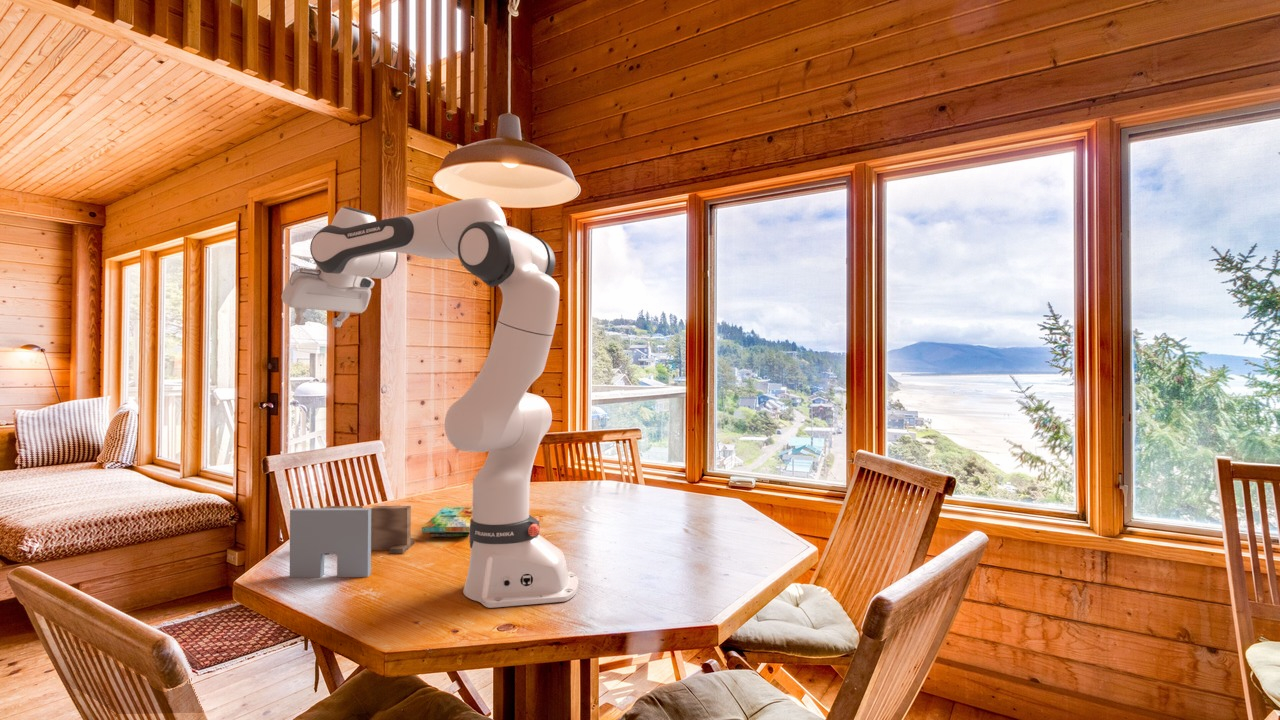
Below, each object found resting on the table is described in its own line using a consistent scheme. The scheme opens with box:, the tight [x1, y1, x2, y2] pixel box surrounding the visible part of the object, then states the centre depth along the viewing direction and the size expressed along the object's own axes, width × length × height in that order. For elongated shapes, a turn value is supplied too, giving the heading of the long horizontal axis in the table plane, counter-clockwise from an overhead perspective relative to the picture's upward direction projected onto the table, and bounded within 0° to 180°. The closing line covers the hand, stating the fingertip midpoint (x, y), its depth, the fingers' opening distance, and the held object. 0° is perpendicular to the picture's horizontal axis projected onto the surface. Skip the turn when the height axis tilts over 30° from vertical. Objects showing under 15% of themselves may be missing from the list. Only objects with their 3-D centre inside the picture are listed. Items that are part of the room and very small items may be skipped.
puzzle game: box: [421, 506, 473, 537], centre depth 160 cm, size 12×5×20 cm
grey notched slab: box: [289, 507, 372, 579], centre depth 125 cm, size 16×2×14 cm, turn 92°
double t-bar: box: [323, 505, 415, 555], centre depth 143 cm, size 20×8×10 cm, turn 92°
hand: (318, 325), depth 143 cm, fingers open, 8 cm apart
